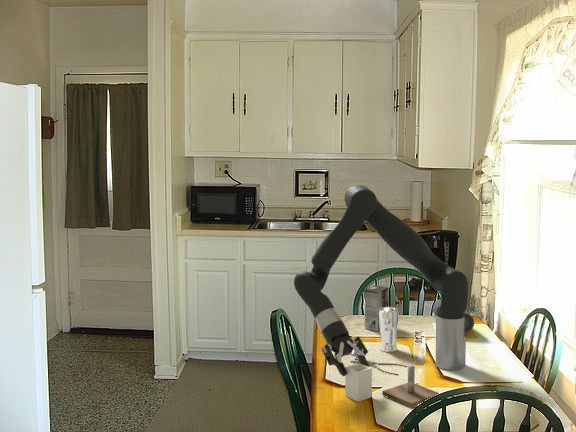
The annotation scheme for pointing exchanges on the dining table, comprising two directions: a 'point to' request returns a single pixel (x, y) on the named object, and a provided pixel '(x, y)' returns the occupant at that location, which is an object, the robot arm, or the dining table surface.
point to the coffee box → (375, 305)
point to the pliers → (380, 364)
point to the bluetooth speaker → (467, 318)
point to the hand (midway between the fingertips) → (356, 371)
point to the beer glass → (388, 328)
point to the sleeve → (358, 382)
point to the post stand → (409, 391)
